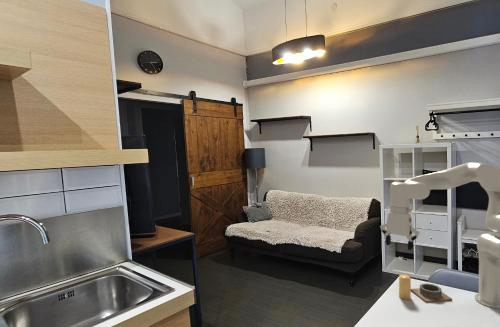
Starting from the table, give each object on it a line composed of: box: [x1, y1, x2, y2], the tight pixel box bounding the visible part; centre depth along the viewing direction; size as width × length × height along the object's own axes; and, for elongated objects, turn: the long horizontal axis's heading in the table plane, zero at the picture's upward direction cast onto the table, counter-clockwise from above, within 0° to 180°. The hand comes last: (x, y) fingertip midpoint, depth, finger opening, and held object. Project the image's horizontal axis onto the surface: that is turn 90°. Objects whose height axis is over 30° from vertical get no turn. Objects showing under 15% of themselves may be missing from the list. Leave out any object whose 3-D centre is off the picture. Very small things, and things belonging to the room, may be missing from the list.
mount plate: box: [411, 283, 453, 303], centre depth 150 cm, size 13×12×4 cm
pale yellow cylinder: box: [398, 274, 412, 301], centre depth 149 cm, size 5×5×10 cm
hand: (399, 246), depth 141 cm, fingers open, 9 cm apart
